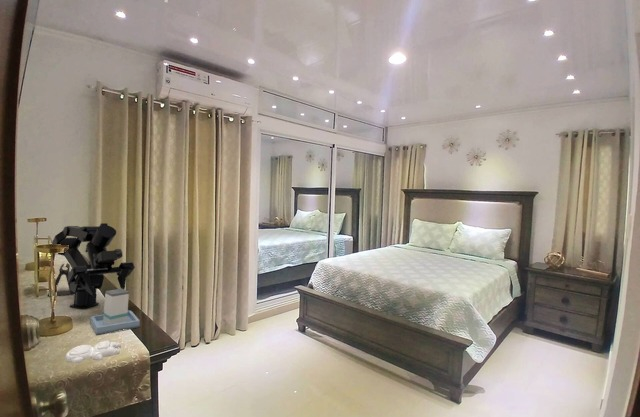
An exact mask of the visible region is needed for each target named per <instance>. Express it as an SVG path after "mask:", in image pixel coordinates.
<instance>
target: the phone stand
mask: <svg viewBox="0 0 640 417" xmlns="http://www.w3.org/2000/svg"><path fill="white" fill-rule="evenodd" d="M64 267H66V268H67V269H63V268H64ZM70 268H71V265H70V264H69V262H68V263H66V265H65V263H62V264H61V265H60V268H59V274H58V275H57V277H56V279H55V281H56V285H57V287H58V286H59V284H60V280H61V279H62V276H64V275H65V278H66V282H67V285H68V289H69V290H58V291H57V290H56V291H57V296H56V297H61V296H75V295H74V294H75V292H73V291H71V290H70V282H69V281H68V275H69V273H70V271H71V269H70ZM47 297H51V296H49V293H48V294H47Z"/></svg>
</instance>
